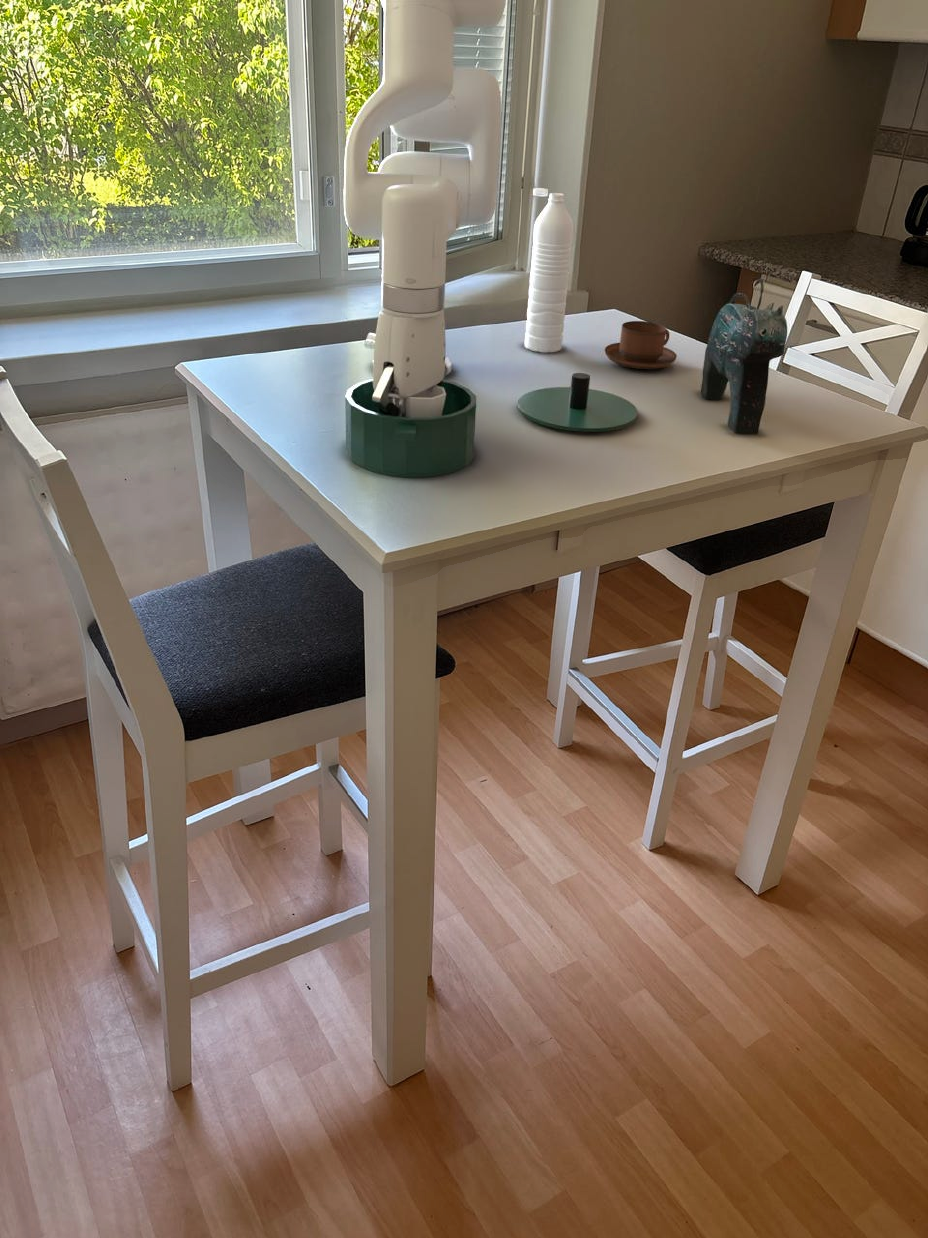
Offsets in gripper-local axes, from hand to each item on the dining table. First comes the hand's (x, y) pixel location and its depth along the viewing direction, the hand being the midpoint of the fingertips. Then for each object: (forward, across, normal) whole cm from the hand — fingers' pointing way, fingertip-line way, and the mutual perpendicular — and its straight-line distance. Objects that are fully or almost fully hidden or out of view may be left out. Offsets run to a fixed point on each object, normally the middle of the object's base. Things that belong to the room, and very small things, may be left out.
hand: (410, 439), depth 126 cm
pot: (+2, 0, 0) cm, 2 cm away
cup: (+1, 0, 0) cm, 2 cm away
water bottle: (+2, -54, -9) cm, 55 cm away
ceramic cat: (+2, -41, +29) cm, 50 cm away
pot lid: (+1, -27, +11) cm, 29 cm away
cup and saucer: (+2, -56, +9) cm, 57 cm away
